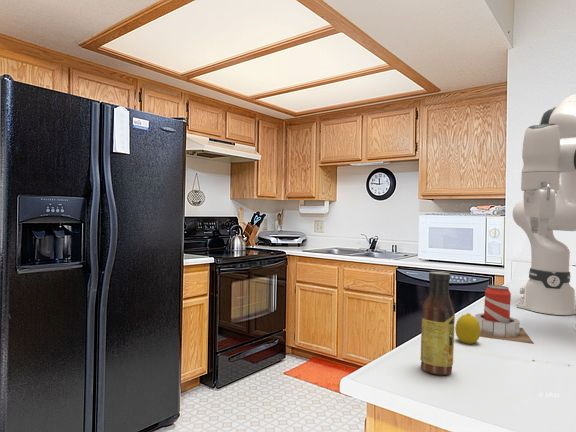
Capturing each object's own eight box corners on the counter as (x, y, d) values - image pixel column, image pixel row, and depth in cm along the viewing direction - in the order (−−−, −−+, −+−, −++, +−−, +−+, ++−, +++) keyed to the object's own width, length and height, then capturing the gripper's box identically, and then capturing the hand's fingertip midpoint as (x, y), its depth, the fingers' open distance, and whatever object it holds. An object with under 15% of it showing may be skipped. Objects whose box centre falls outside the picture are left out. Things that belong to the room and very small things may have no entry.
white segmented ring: (473, 323, 116) (474, 311, 116) (514, 329, 112) (515, 316, 112) (476, 333, 106) (477, 320, 106) (521, 339, 103) (522, 325, 103)
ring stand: (464, 324, 119) (464, 320, 119) (522, 331, 114) (522, 328, 114) (467, 338, 105) (467, 334, 105) (534, 347, 100) (534, 343, 100)
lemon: (468, 351, 95) (470, 317, 95) (449, 343, 100) (451, 311, 100) (484, 348, 98) (486, 315, 98) (465, 341, 103) (466, 309, 103)
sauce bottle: (455, 378, 79) (460, 276, 79) (421, 374, 80) (426, 274, 80) (449, 366, 85) (453, 271, 85) (418, 362, 87) (422, 269, 86)
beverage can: (512, 335, 106) (515, 289, 106) (486, 333, 107) (488, 287, 107) (505, 329, 112) (507, 285, 112) (480, 326, 113) (482, 283, 113)
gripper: (564, 181, 100) (562, 237, 100) (544, 185, 119) (543, 232, 119) (534, 181, 102) (532, 236, 102) (520, 185, 121) (518, 231, 121)
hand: (538, 234), depth 111 cm, fingers open, 8 cm apart
